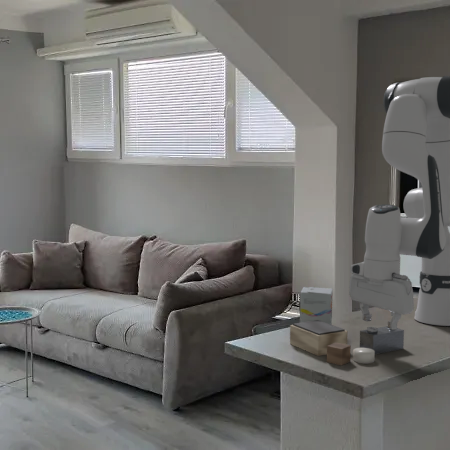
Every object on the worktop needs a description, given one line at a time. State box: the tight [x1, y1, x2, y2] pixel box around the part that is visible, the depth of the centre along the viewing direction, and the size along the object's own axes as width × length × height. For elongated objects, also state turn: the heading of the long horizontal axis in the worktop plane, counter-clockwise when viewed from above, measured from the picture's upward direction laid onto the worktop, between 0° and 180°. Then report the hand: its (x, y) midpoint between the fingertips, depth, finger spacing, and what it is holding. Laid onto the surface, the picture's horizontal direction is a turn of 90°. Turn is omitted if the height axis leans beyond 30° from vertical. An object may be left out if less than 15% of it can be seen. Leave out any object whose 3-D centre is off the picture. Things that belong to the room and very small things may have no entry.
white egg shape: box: [352, 347, 376, 365], centre depth 166 cm, size 5×5×2 cm
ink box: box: [299, 286, 334, 325], centre depth 192 cm, size 9×9×12 cm
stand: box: [289, 320, 348, 357], centre depth 176 cm, size 9×12×5 cm
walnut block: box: [326, 343, 352, 366], centre depth 165 cm, size 4×4×4 cm
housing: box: [359, 325, 405, 355], centre depth 175 cm, size 10×5×6 cm, turn 119°
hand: (379, 324), depth 174 cm, fingers open, 8 cm apart
